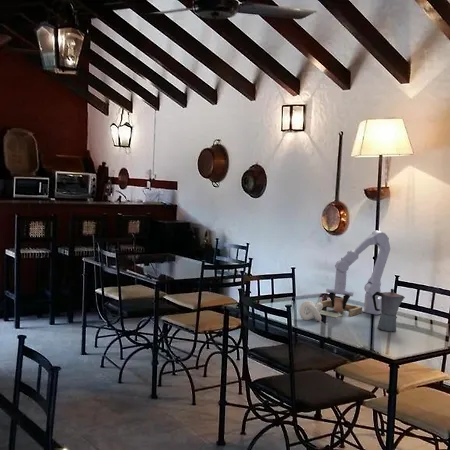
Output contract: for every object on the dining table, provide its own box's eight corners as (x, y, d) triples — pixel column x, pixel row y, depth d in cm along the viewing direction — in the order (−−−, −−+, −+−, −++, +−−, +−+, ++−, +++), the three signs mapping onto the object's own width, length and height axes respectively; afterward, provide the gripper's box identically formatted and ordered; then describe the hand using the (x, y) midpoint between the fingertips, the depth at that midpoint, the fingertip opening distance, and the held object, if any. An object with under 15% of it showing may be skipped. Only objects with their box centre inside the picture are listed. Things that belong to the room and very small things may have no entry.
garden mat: (343, 315, 324) (343, 314, 324) (335, 317, 318) (335, 317, 318) (319, 310, 333) (319, 309, 333) (312, 312, 326) (312, 311, 326)
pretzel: (328, 323, 306) (329, 305, 305) (305, 323, 303) (307, 305, 302) (318, 317, 317) (319, 300, 316) (296, 317, 313) (297, 300, 312)
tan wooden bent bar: (361, 312, 332) (362, 307, 332) (350, 316, 323) (351, 310, 322) (327, 305, 346) (327, 300, 345) (315, 308, 336) (315, 303, 336)
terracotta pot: (345, 310, 334) (346, 299, 334) (340, 312, 330) (341, 300, 329) (336, 308, 338) (337, 297, 337) (331, 310, 334) (332, 298, 333)
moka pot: (404, 333, 295) (408, 291, 293) (372, 331, 295) (375, 289, 293) (399, 327, 304) (402, 287, 302) (367, 325, 305) (371, 285, 303)
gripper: (355, 283, 333) (353, 308, 334) (329, 279, 339) (327, 304, 341) (352, 285, 327) (350, 310, 328) (325, 281, 333) (323, 306, 334)
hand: (338, 307), depth 334 cm, fingers closed on terracotta pot, 5 cm apart
